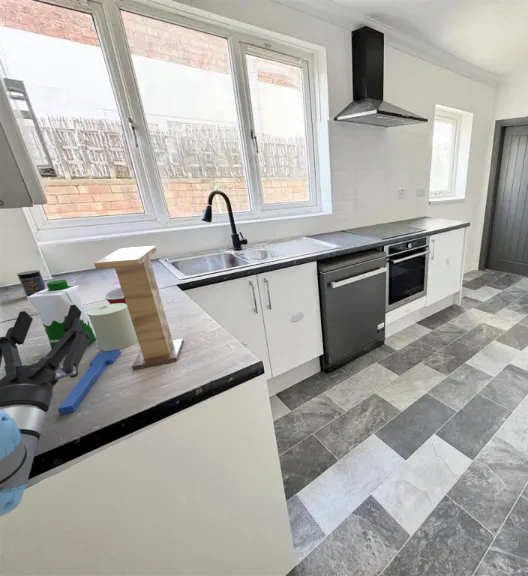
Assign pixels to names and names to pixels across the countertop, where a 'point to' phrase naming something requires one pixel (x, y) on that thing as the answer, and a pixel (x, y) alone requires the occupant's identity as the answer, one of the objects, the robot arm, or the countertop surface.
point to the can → (113, 326)
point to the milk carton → (59, 309)
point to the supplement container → (31, 282)
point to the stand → (143, 305)
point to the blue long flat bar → (87, 380)
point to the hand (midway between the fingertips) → (51, 312)
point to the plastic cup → (115, 296)
